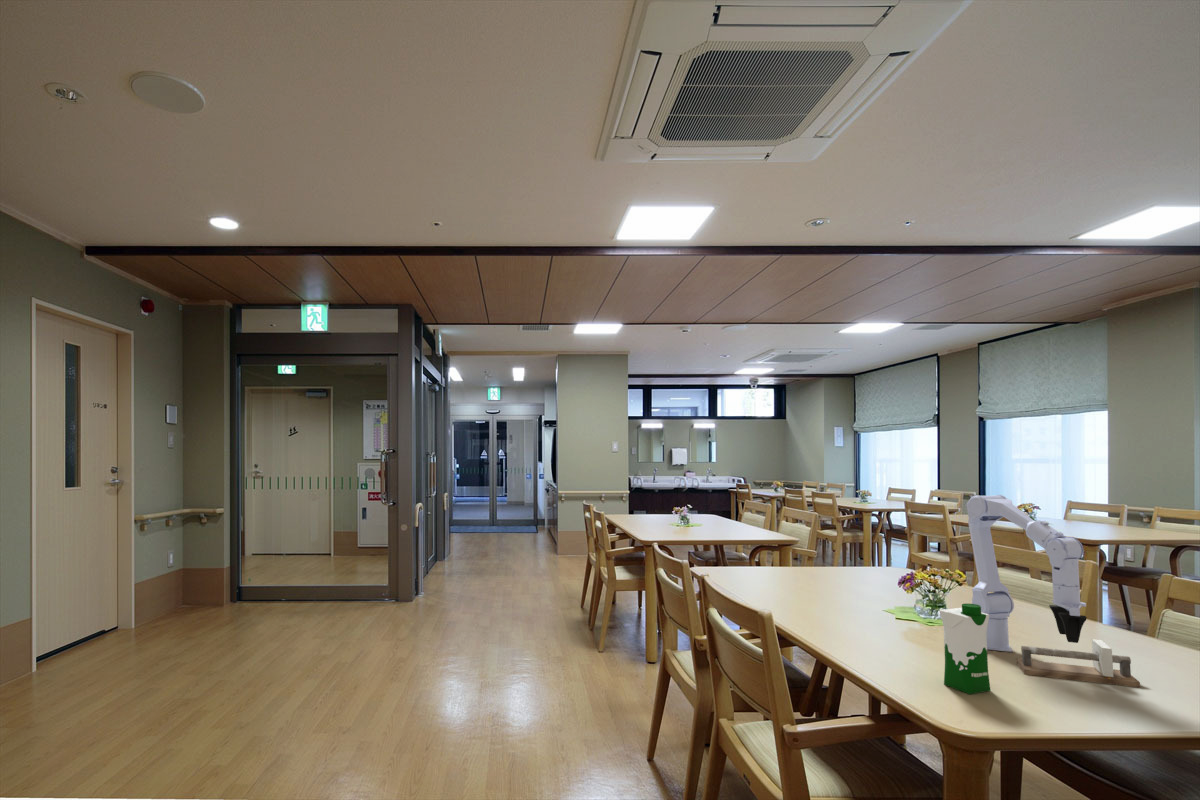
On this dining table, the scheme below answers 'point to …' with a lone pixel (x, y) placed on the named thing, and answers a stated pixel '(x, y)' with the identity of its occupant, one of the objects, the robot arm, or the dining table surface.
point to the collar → (1103, 658)
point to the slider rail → (1075, 667)
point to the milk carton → (966, 648)
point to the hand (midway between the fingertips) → (1068, 638)
